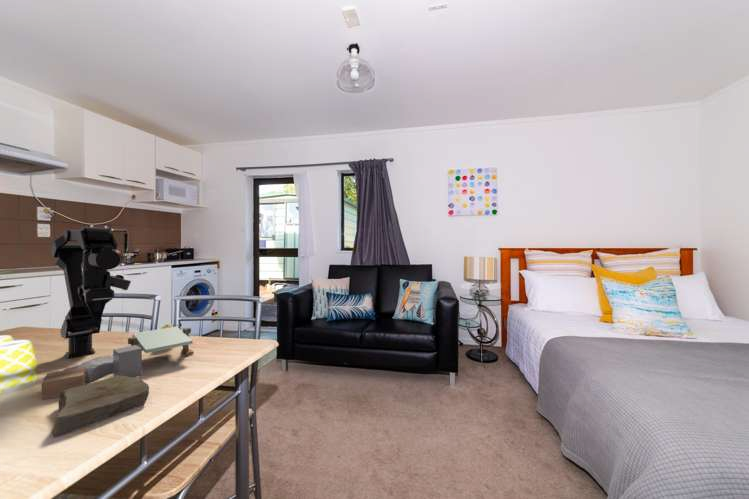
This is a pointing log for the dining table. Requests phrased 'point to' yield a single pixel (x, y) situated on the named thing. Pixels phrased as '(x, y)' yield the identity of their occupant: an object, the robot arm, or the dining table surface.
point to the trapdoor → (161, 339)
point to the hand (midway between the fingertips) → (95, 319)
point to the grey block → (127, 361)
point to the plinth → (62, 381)
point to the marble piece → (98, 402)
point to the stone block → (96, 367)
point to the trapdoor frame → (185, 350)
